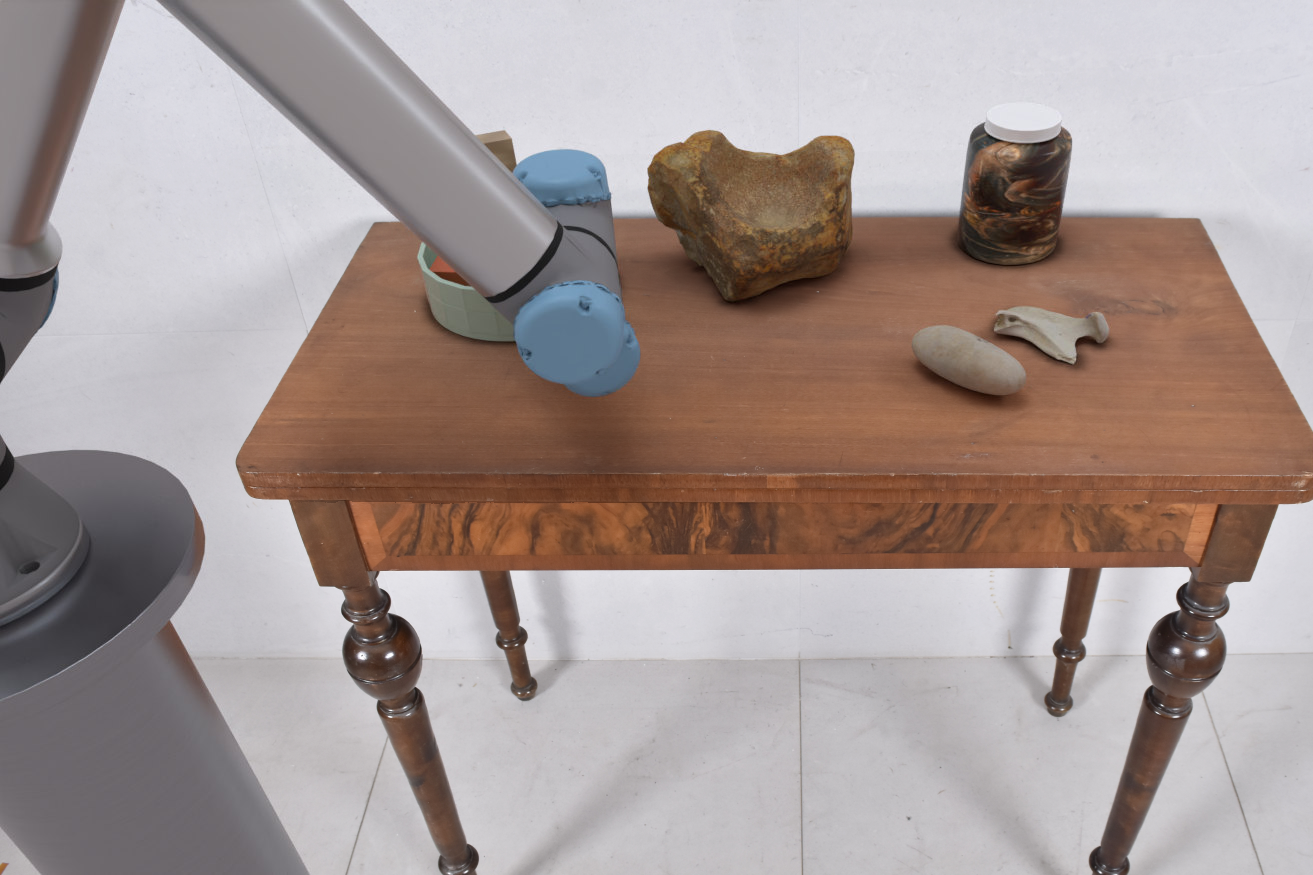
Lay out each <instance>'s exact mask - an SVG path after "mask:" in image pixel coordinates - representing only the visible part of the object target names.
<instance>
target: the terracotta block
mask: <svg viewBox="0 0 1313 875" xmlns="http://www.w3.org/2000/svg"><path fill="white" fill-rule="evenodd" d="M429 270H430V271H432V272H433V273H435V274H436V275H437V276H439V277H440V278H442V279H444V280H447V281H451V282H454V283H457V284H460V285H463V286H471V285H470V284H468V283H467V282H466V281H465V280H464V279H463V278H462V277H461V276H460V275H458V274H457V273H456V272H455V271H454V270H453V269H452V268H451V267H450V266H449V265H447V264H446V263H445V262H444V261H443V260H442V259H441V258H440V257H439V256H437V258H436V259H435V261H434V262H433V264H432V266H431V267H430V269H429ZM471 287H472V286H471Z"/></svg>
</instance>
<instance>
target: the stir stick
mask: <svg viewBox="0 0 1313 875" xmlns="http://www.w3.org/2000/svg"><path fill="white" fill-rule="evenodd" d="M474 135H475V136H476V137H477V138H478V139H479V140H480V141H481V142H482V143H483V144H484V145H485V146H486V147H487V148H488V149H489V150H490V151H491V152H492V153H493V154H494V155H495V156H496V157H497V158H498V159H499V160H500V161H501V162H502V163H503V164H504V165H505V166H506V167H507V168H508V169H509V170H510V172H511V173H513V170H514V169H515V167H516V166H517V164H518V163H517V159H516V153H515V147H514V142H513V138H512V137H511V136H510V134H509V133H508V132H507V131H506V129H503V130H496V131H492V132H487V133H480V134H474Z"/></svg>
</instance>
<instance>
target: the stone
mask: <svg viewBox="0 0 1313 875" xmlns="http://www.w3.org/2000/svg"><path fill="white" fill-rule="evenodd" d="M911 350H912V353H913V354H914V356H915V358H916V359H917V360H918V361H919V362H921V364H923V365H924V366H925V367H927V368H928V369H929V370H930V371H931V372H933V373H935V374H936V375H938V376H940V377H942V378H944V379H945V380H947V381H949V382H951V383H953V384H955V385H957V386H960V387H962V388H964V389H967V390H970V391H973V392H974V391H975V392H978V393H982V394H986V395H993V396H1008V395H1012V394H1016V393H1018V392H1020V391H1021V390H1022V389H1023V388H1024V387H1025V385H1026V383H1027V373H1026V370H1025V368H1024V367H1023V365H1022V364H1021V363H1020V362H1019V361H1018V360H1017V359H1016V358H1015V357H1014V356H1012V354H1009V353H1008V352H1007V351H1005V350H1003V349H1002V348H1000V347H998V346H997V345H995V344H994V343H992V342H990V341H988V340H986V339H984V338H982V337H980V336H978V335H976V334H974V333H972V332H969V331H968V330H966V329H965V330H964V329H962V328H959V327H956V326H953V325H947V324H939V325H932V326H927V327H924V328H922V329H920V330H919V331H918V332H916V333H915V335H913V337H912V339H911Z"/></svg>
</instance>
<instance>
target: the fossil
mask: <svg viewBox="0 0 1313 875" xmlns="http://www.w3.org/2000/svg"><path fill="white" fill-rule="evenodd" d="M994 316H995V317H997V316H998V319H997V320H996V322H995V324H994V327H993V332H994V333H995V334H998V335H1006V336H1014V337H1019V338H1021V339H1024V340H1026V341H1029V342H1031V343H1032V344H1033V345H1035V346H1036V347H1037V348H1039V349H1040V350H1041V351H1042V352H1044V353H1045V354H1047V355H1048V356H1050V357H1052V358H1054V359H1056V360H1058V361H1063V362H1066V363H1068V364H1070V365H1074V364H1075V363H1076V362H1077V355H1078V354H1077V349H1076V342H1077V340H1078V339H1079V338H1082V337H1090V338H1092V339H1094V340H1095V342H1096V343H1097V344H1103V343H1104V342H1105V341H1106V340H1107V339H1108V337H1109V334H1110V327H1109V325H1108V321H1107V320H1106V318H1105V315H1104V314H1103V313H1102V312H1099V311H1093V312H1090V313H1089V314H1087V315H1086V316H1085V317H1083V318H1081V317H1080V318H1078V317H1073V316H1069V315H1065V314H1064V313H1059V312H1055V311H1050V310H1047V309H1044V308H1041V307H1037V306H1036V307H1035V306H1027V305H1023V306H1022V305H1021V306H1020V305H1019V306H1013V307H1010V308H1007V309H999V310H998V311H997V312H996V313H995V315H994Z"/></svg>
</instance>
